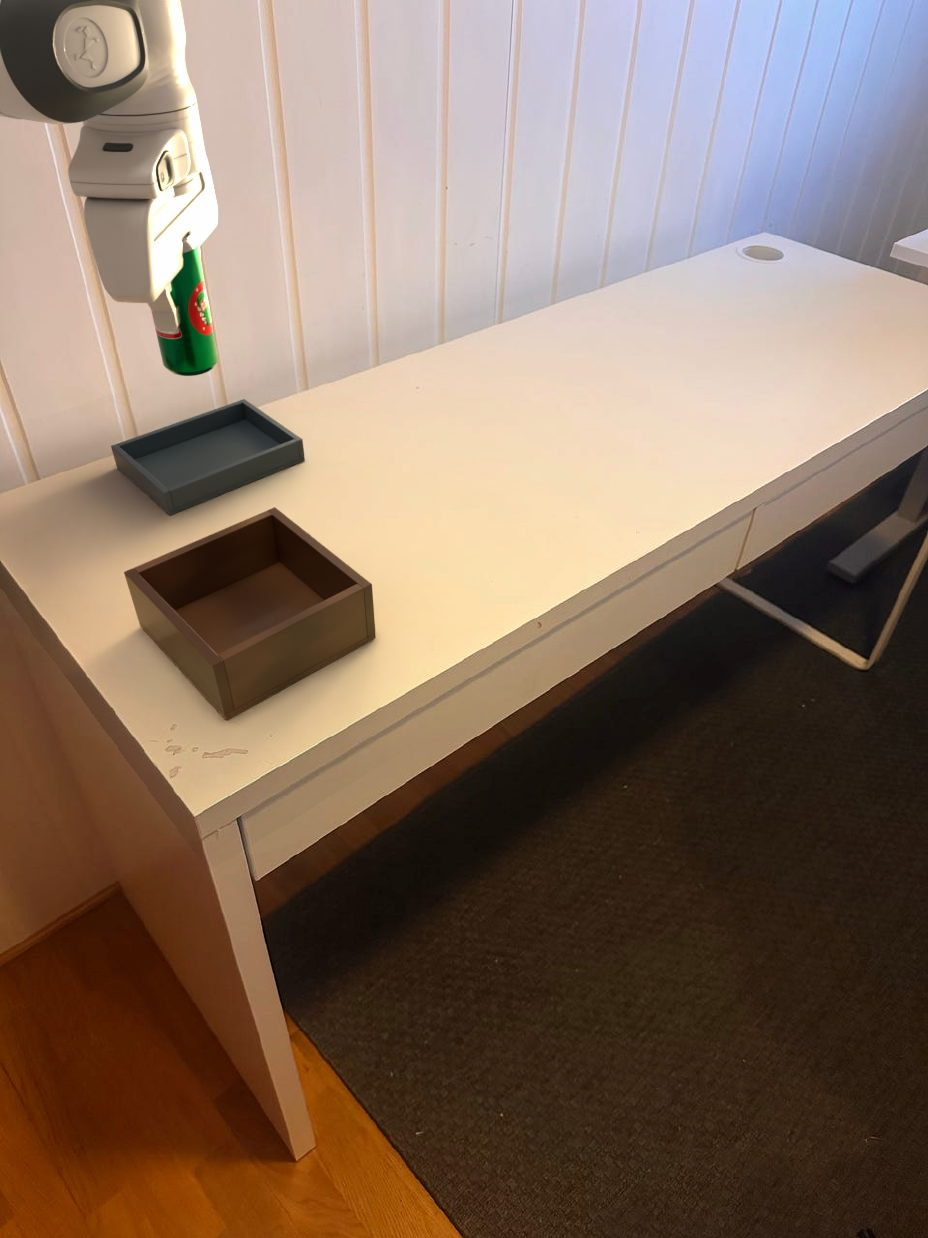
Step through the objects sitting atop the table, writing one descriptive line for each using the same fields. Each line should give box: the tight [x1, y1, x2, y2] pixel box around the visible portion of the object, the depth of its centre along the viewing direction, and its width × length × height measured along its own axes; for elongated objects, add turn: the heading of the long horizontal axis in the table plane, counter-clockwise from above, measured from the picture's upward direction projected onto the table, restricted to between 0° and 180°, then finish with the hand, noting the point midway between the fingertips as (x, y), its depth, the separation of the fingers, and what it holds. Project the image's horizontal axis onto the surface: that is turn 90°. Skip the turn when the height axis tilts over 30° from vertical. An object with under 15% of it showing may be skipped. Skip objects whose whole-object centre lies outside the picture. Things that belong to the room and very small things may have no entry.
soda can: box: [150, 230, 220, 377], centre depth 80 cm, size 5×5×12 cm
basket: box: [123, 506, 377, 721], centre depth 70 cm, size 14×14×6 cm
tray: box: [110, 398, 306, 516], centre depth 90 cm, size 15×11×2 cm
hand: (180, 313), depth 80 cm, fingers closed on soda can, 5 cm apart
